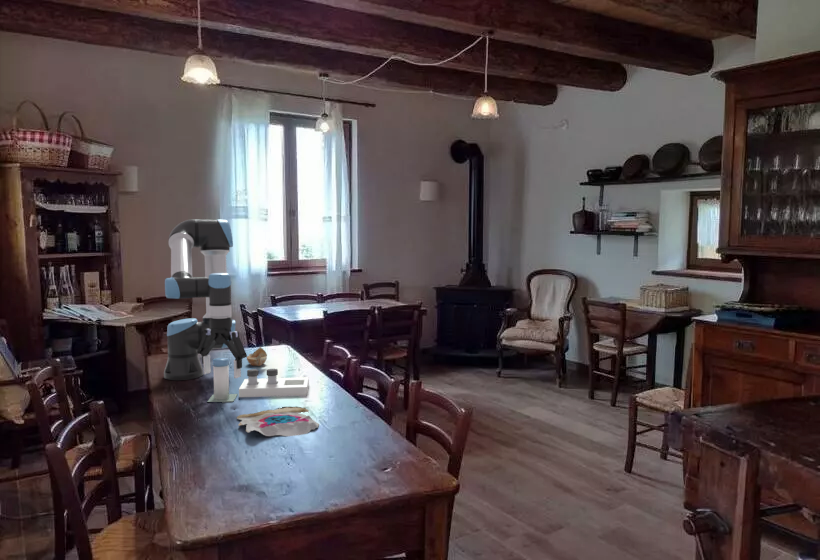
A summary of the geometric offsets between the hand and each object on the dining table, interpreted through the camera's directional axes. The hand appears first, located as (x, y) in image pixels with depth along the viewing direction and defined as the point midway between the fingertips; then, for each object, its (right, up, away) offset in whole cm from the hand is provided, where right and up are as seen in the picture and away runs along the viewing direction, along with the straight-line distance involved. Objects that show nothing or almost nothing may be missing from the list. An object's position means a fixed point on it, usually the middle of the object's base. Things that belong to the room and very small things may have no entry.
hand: (222, 375), depth 215 cm
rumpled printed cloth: (+25, -12, -24) cm, 37 cm away
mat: (0, -9, +1) cm, 9 cm away
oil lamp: (-1, -4, +54) cm, 54 cm away
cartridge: (0, -8, +1) cm, 8 cm away
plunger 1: (+9, -6, +7) cm, 13 cm away
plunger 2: (+16, -6, +8) cm, 19 cm away
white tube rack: (+17, -8, +8) cm, 21 cm away
